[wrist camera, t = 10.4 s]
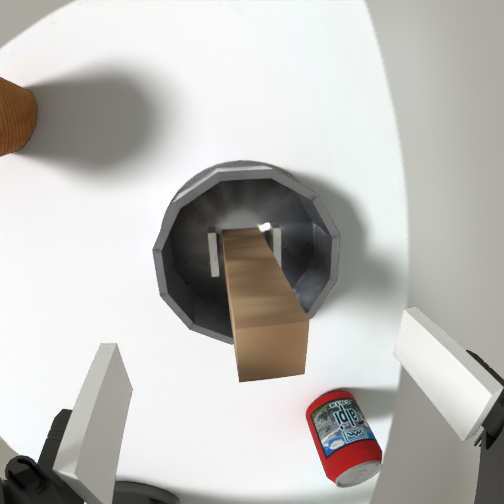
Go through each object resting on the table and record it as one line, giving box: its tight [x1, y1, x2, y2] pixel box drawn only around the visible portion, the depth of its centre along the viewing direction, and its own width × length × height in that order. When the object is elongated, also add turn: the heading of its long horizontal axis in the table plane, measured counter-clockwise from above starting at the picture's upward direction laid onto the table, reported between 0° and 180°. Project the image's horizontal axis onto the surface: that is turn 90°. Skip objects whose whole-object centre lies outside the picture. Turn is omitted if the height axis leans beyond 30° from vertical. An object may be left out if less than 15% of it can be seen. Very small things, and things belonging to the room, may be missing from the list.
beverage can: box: [306, 391, 382, 488], centre depth 30 cm, size 7×7×12 cm
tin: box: [152, 160, 340, 345], centre depth 24 cm, size 14×14×5 cm
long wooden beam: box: [222, 227, 309, 382], centre depth 19 cm, size 3×3×14 cm
